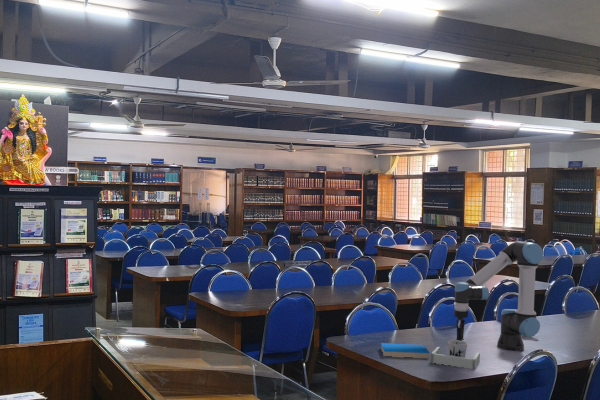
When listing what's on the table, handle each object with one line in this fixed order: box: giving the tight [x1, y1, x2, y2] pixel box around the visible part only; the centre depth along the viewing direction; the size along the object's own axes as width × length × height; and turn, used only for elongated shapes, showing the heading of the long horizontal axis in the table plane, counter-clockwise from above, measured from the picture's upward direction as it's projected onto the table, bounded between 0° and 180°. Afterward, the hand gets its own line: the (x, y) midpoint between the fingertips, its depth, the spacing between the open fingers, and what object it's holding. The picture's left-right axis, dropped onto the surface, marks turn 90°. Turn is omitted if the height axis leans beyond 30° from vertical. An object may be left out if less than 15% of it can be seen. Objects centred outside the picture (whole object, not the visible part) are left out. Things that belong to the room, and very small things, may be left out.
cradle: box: [430, 346, 481, 370], centre depth 300 cm, size 23×17×5 cm
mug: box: [447, 339, 468, 358], centre depth 305 cm, size 10×15×10 cm
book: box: [380, 342, 430, 359], centre depth 314 cm, size 17×4×25 cm
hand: (459, 351), depth 314 cm, fingers closed
